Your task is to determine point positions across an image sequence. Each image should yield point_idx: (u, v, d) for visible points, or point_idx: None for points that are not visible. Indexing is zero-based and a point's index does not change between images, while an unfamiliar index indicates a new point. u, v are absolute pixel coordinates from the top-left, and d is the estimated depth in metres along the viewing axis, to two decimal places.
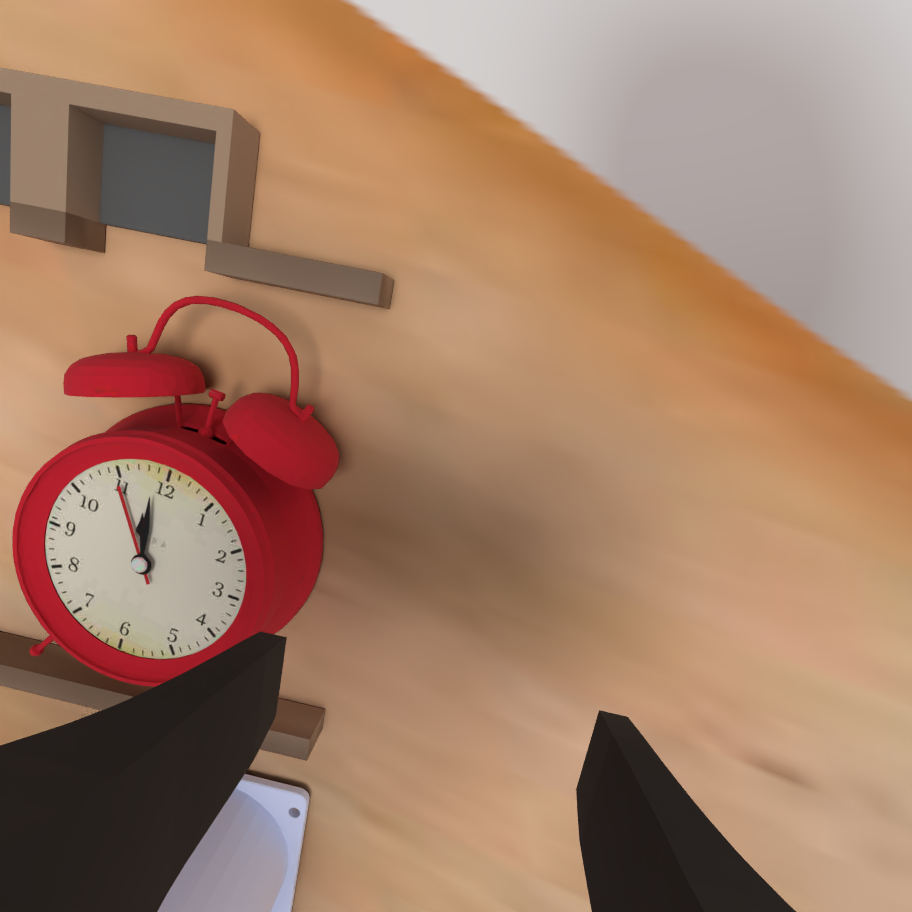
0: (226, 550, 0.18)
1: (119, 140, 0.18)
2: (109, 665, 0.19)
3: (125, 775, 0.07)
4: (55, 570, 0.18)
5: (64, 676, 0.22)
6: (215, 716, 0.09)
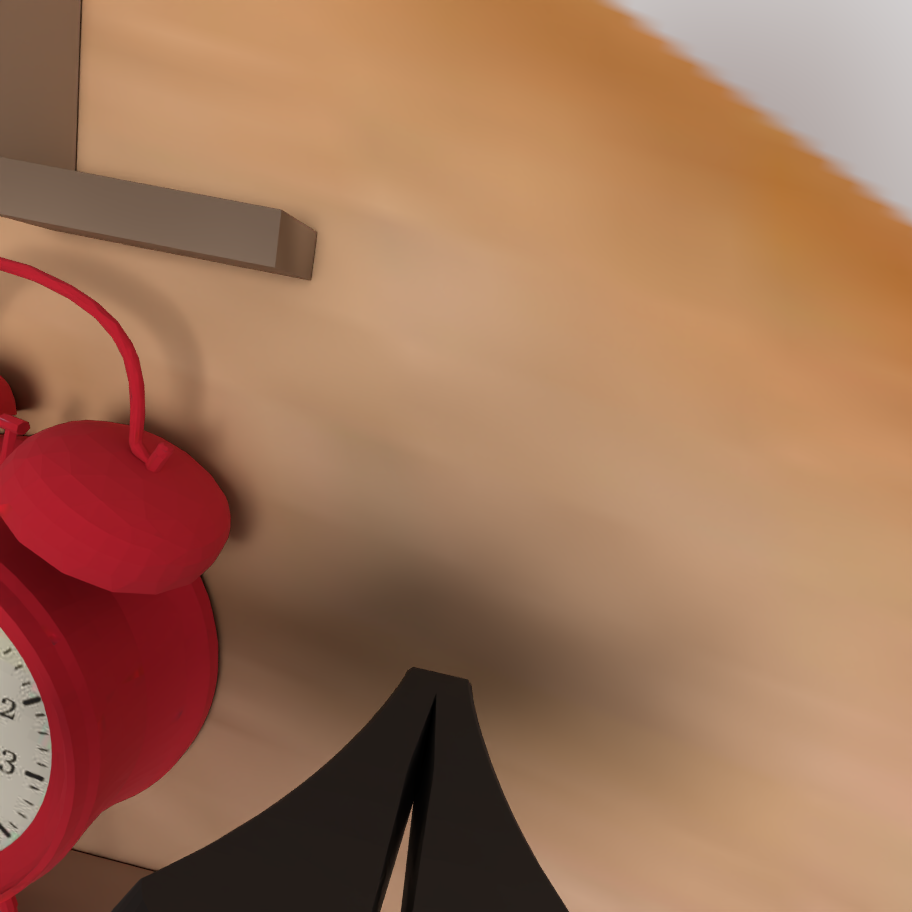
0: (16, 699, 0.10)
1: None
2: None
3: None
4: None
5: None
6: (413, 764, 0.09)
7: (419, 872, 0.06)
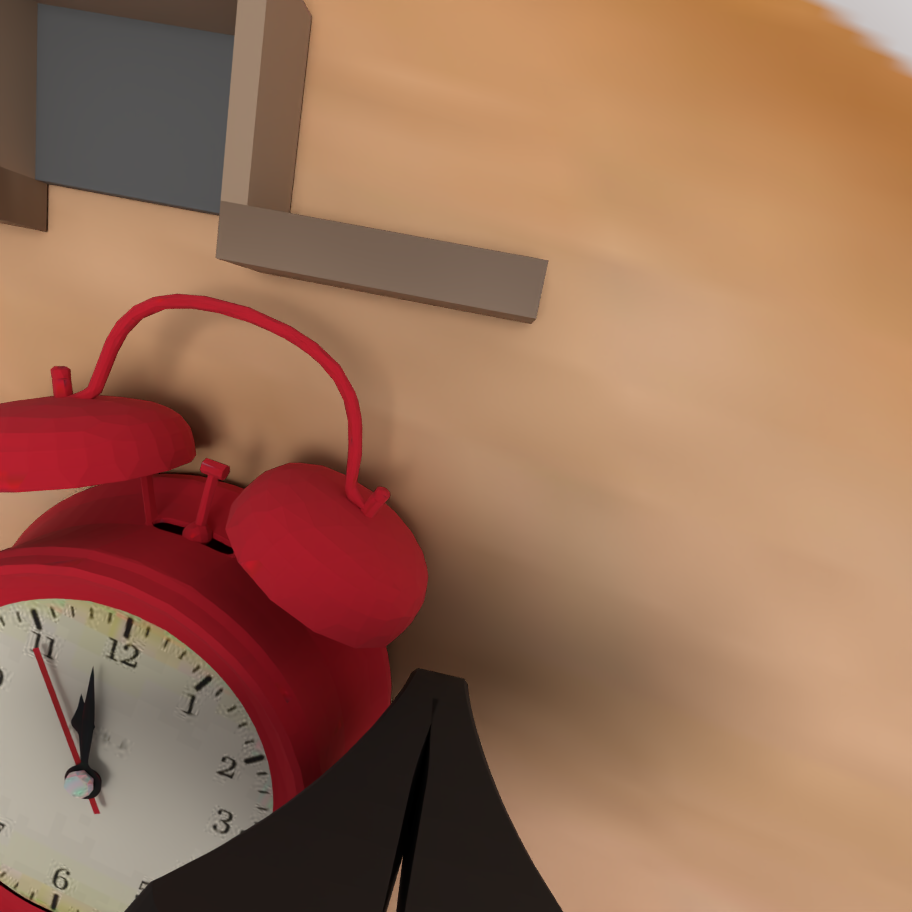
0: (237, 757, 0.10)
1: (65, 32, 0.11)
2: None
3: None
4: None
5: None
6: (419, 766, 0.09)
7: (412, 870, 0.06)
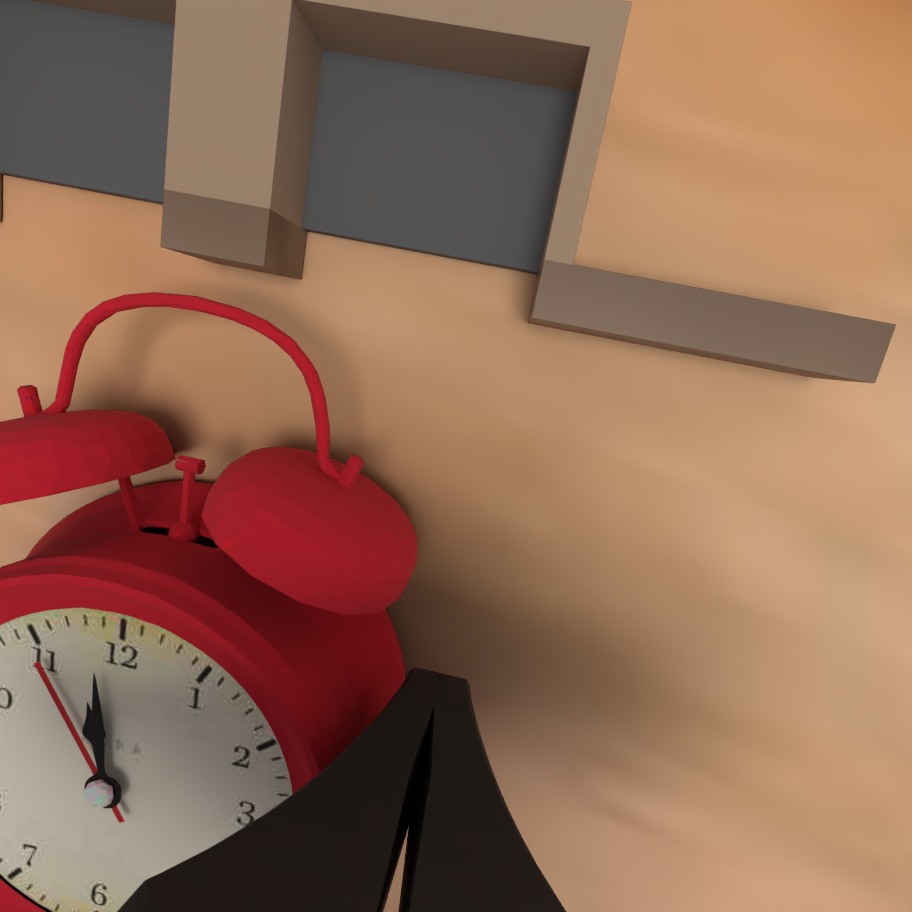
0: (249, 746, 0.10)
1: (349, 79, 0.10)
2: None
3: None
4: None
5: None
6: (415, 765, 0.09)
7: (416, 871, 0.06)
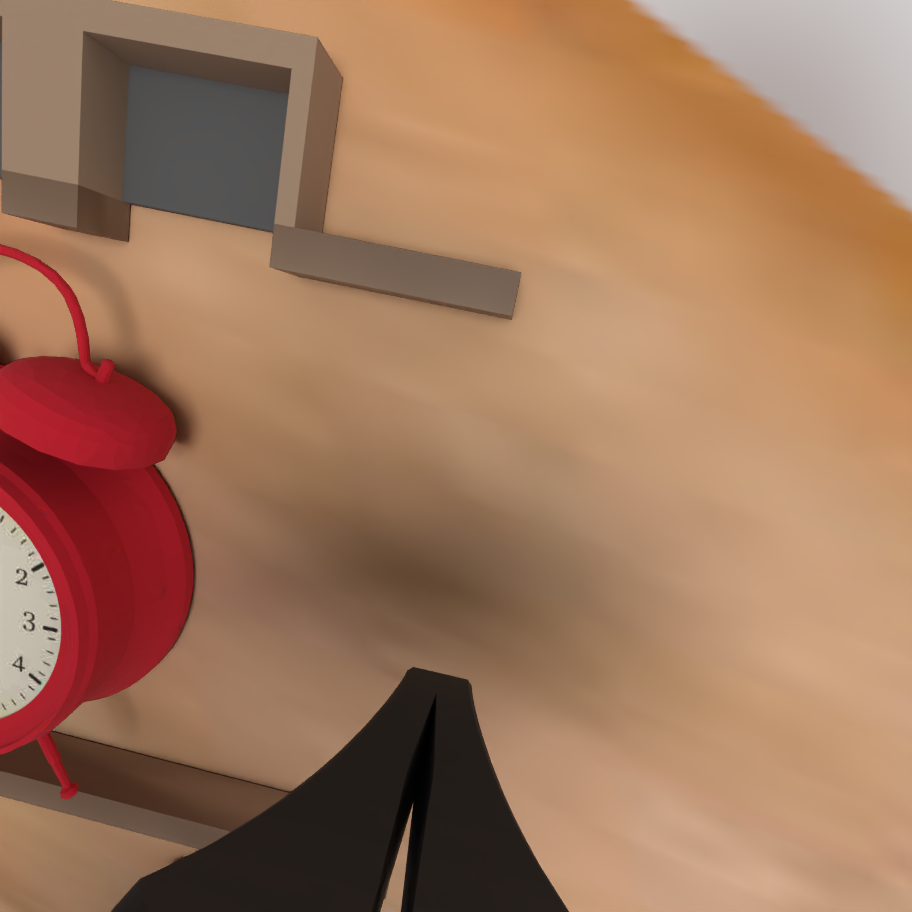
0: (26, 568, 0.13)
1: (150, 88, 0.13)
2: None
3: None
4: None
5: None
6: (413, 764, 0.09)
7: (419, 872, 0.06)
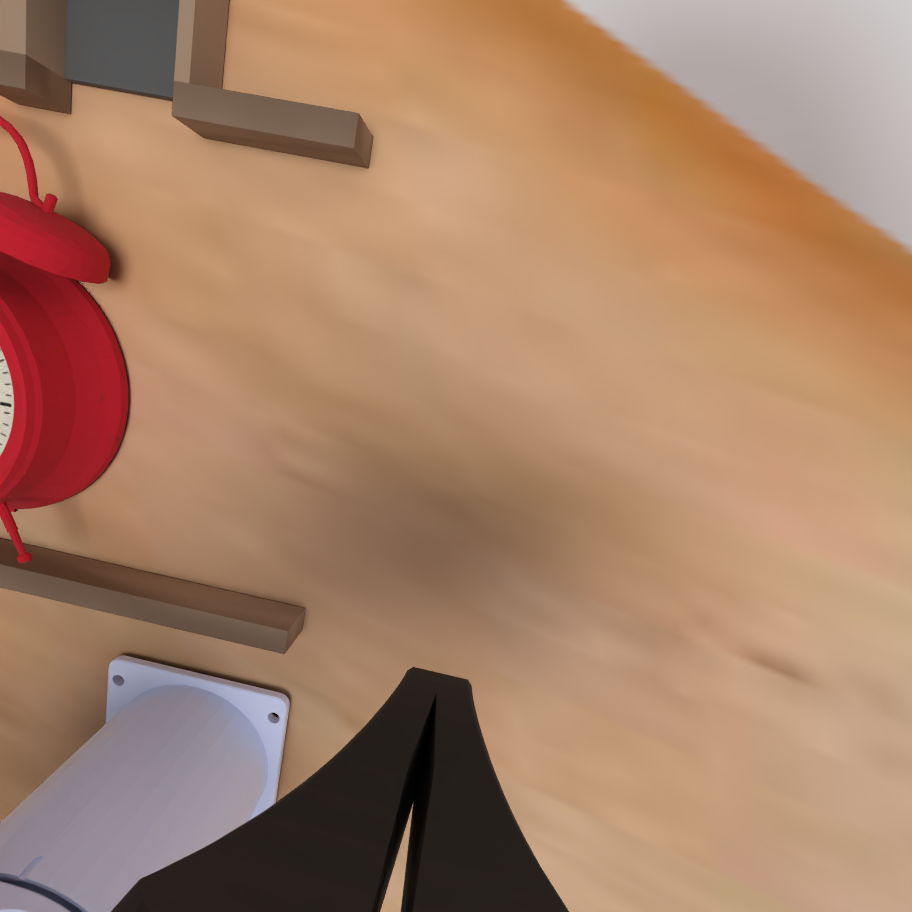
0: None
1: None
2: None
3: None
4: None
5: (32, 569, 0.21)
6: (413, 764, 0.09)
7: (419, 872, 0.06)
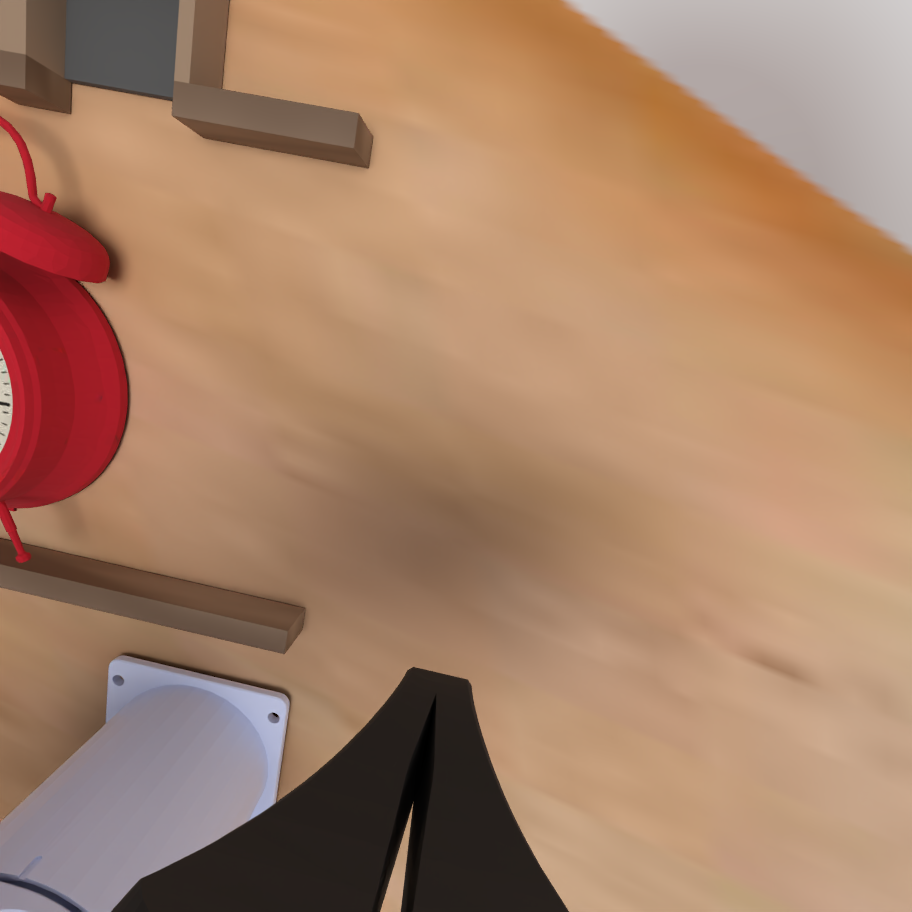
0: None
1: None
2: None
3: None
4: None
5: (32, 569, 0.21)
6: (413, 764, 0.09)
7: (419, 872, 0.06)
